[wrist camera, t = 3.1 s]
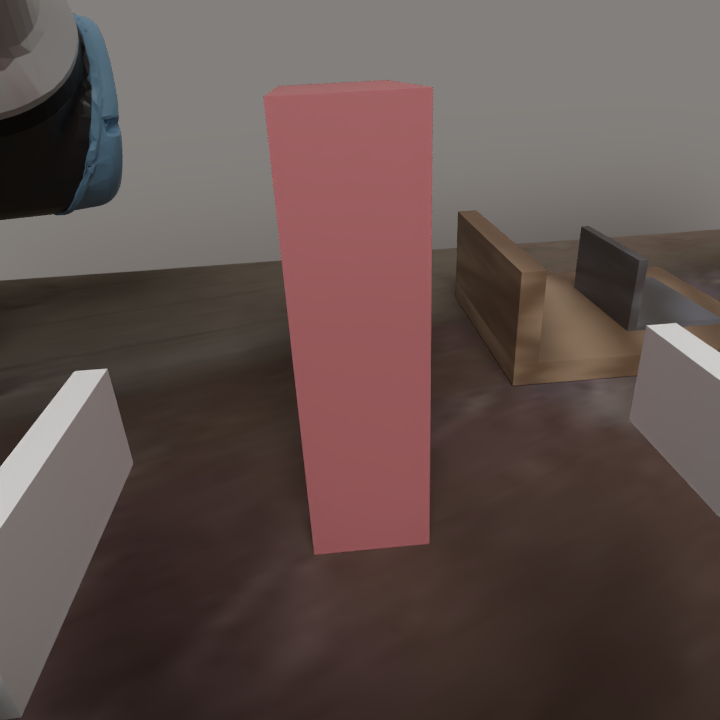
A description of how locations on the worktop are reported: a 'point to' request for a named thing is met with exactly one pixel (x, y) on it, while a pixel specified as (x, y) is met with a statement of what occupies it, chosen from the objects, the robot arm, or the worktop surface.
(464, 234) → the l-shaped wooden stand
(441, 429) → the worktop surface
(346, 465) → the tall pink pillar
